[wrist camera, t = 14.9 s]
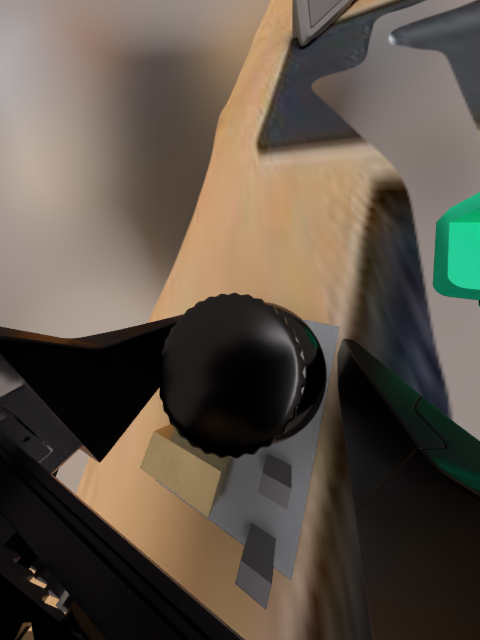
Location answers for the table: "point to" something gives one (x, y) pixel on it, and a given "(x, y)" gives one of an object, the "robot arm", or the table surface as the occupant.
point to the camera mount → (458, 251)
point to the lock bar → (185, 469)
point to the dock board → (271, 496)
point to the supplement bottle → (240, 375)
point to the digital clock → (315, 17)
